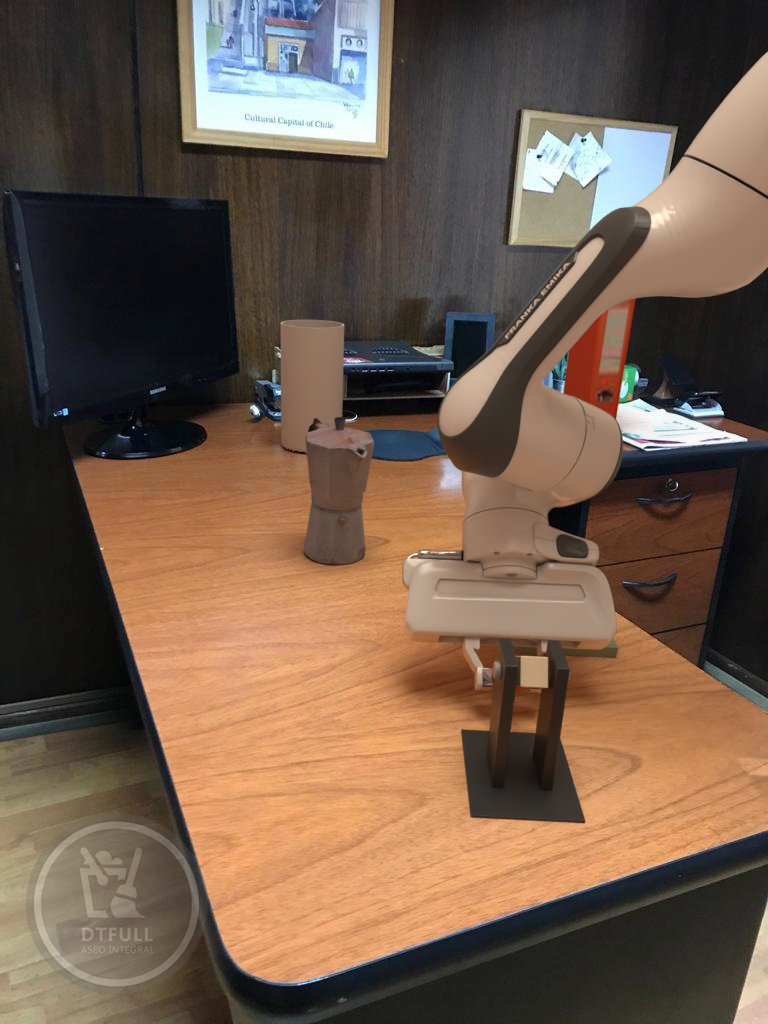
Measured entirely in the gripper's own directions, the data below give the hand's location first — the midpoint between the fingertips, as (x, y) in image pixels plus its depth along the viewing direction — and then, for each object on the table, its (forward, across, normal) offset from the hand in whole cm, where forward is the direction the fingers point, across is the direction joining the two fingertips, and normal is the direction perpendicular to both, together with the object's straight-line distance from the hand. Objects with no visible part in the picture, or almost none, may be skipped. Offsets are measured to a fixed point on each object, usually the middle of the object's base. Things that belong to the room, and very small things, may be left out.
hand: (510, 690), depth 72 cm
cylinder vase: (-65, -28, +68) cm, 98 cm away
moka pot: (-26, -20, +30) cm, 44 cm away
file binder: (-86, +37, +89) cm, 129 cm away
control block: (-10, +8, +15) cm, 19 cm away
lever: (+1, 0, -5) cm, 5 cm away
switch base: (+8, 0, -2) cm, 9 cm away
